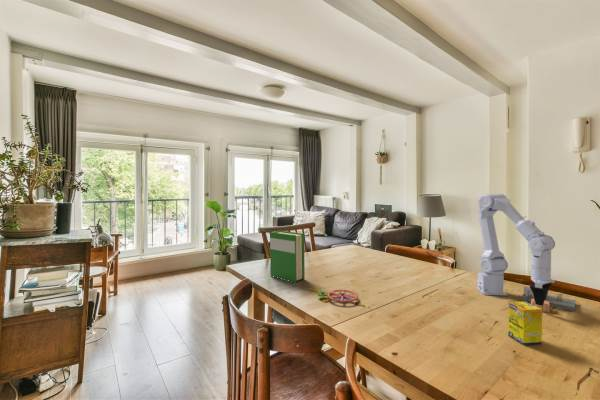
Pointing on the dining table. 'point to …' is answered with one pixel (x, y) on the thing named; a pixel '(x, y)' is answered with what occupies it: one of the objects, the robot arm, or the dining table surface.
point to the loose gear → (545, 306)
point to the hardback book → (287, 255)
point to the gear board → (551, 300)
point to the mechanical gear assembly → (339, 296)
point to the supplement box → (525, 323)
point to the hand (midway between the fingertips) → (540, 302)
